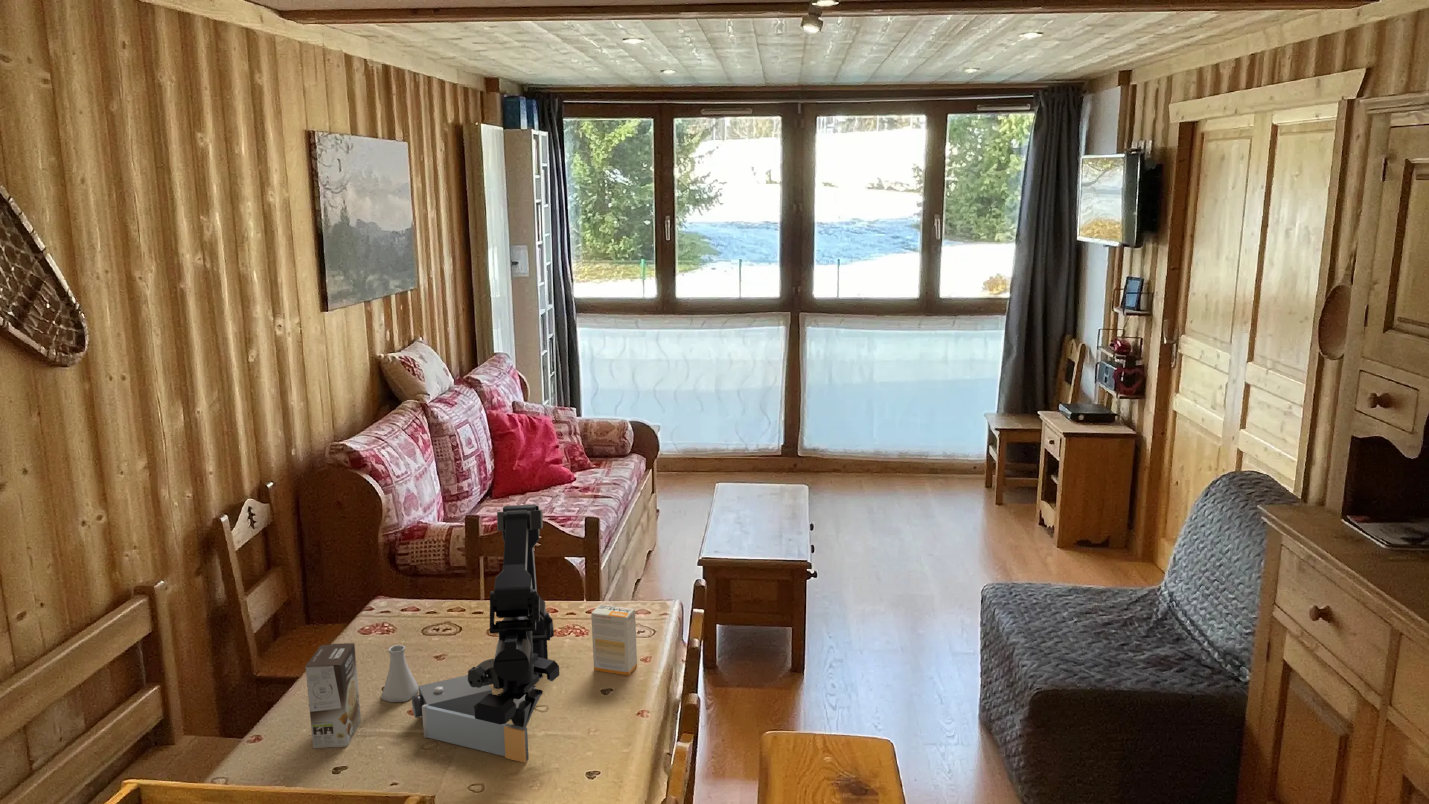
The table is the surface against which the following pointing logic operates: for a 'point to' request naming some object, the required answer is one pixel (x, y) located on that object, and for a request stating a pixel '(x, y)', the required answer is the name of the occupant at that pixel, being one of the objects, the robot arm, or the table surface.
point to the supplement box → (614, 639)
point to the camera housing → (449, 696)
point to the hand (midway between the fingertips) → (520, 732)
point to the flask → (399, 678)
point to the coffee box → (333, 695)
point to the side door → (475, 733)
